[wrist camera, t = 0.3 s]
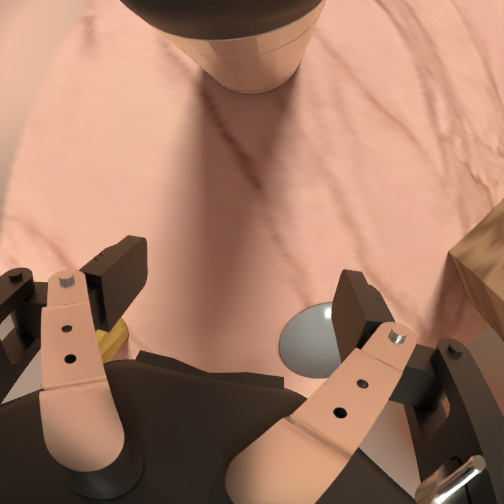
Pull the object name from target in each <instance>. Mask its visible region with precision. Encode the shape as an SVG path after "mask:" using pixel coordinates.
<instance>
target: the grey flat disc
mask: <svg viewBox="0 0 504 504" xmlns="http://www.w3.org/2000/svg"><path fill="white" fill-rule="evenodd" d="M331 307H332V302H328V303H322V304H317V305H314V306H311V307H309V308H307V309H305V310H303V311H301V312H300V313H298V314H297V315H295V316H294V317H293V318H292V319H291V320H290V321H289V322H288V323H287V325H286V326H285V328H284V329H283V331H282V334H281V336H280V342H279V349H280V355H281V358H282V360H283V362H284V363H285V364H286V366H287V367H289V368H290V369H291V370H292V371H294V372H295V373H297V374H300V375H302V376H305V377H310V378H329V377H330V376H331V375H332V374H333V373H334V371H335V370H336V369H337V368H338V367H339V366H340V365H341V360H340V355H339V350H338V346H337V341H336V337H335V332H334V328H333V324H332V319H331Z"/></svg>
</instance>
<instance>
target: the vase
mask: <svg viewBox="0 0 504 504" xmlns="http://www.w3.org/2000/svg"><path fill="white" fill-rule="evenodd" d="M95 333H96V338H97V342H98V347H99V351H100V355H101V359H102V363H107V362H111V360H112V359H113V358H114V356H115V354H116V353H117V351H118V350H119V349H120V347H121V345H122V344H123V343H124V342H125V341H126V339H127V337H128V331H127V327H126V325H125V323H124V321H123V320H122V319H121V318H120V319H119V320H118V322H117V323H116V324H115V326H114V327H113V329H112V330H111V331H110V333H108V332H105V331H102V330H97V331H96V332H95ZM42 386H43V385H42V383H41V389H42Z"/></svg>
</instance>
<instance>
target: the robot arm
mask: <svg viewBox="0 0 504 504" xmlns="http://www.w3.org/2000/svg"><path fill="white" fill-rule="evenodd" d="M120 1H121V2H122V3H123V4H124V5H125V6H126V7H128V8H129V9H130V10H131V11H133V12H134V13H135V14H136V15H138V16H139V17H140V18H142V19H143V20H144V21H146V22H147V23H148V24H149V25H151V26H152V27H153V28H155V29H156V30H157V31H158V32H160V33H161V34H162V35H164V36H165V37H166V38H167V39H168V40H170V41H171V42H173V43H174V44H175V45H176V46H177V47H179V48H180V49H181V50H182V51H183V52H184V53H186V54H187V55H188V56H189V57H190V58H192V59H193V60H194V61H195V62H196V63H197V64H198V65H200V66H201V67H202V68H203V69H204V70H205V71H206V72H207V73H208V74H210V75H211V76H212V77H213V78H214V79H215V80H217V81H218V82H219V83H220V84H221V85H223V86H225V87H226V88H228V89H230V90H233V91H236V92H240V93H248V94H254V93H263V92H267V91H271V90H273V89H275V88H277V87H279V86H281V85H282V84H284V83H285V82H286V81H288V80H289V78H290V77H291V76H292V75H293V74H294V72H295V71H296V69H297V67H298V65H299V63H300V60H301V58H302V56H303V54H304V51H305V49H306V47H307V44H308V42H309V39H310V37H311V35H312V32H313V30H314V27H315V25H316V23H317V20H318V18H319V16H320V13H321V11H322V9H323V6H324V4H325V1H326V0H120ZM147 274H148V269H147V241H146V239H145V238H143V237H137V236H130V235H128V236H126V237H125V238H124V239H123V240H121V241H120V242H119V243H118V244H115V245H113V246H110V247H108V248H105V249H104V250H103V251H102V252H100V253H99V255H97V256H95V257H94V258H93V259H92V260H91V261H89V262H88V263H87V264H86V265H85V266H83V267H82V268H81V269H80V270H79V271H78V270H63V271H59V272H57V273H55V274H53V275H52V276H51V277H50V278H49V281H48V282H34V280H33V275H32V271H31V270H30V269H27V268H15V269H12V270H9V271H7V272H6V273H4V274H3V275H2V276H0V324H1V323H2V321H3V320H4V319H5V318H6V317H7V316H8V315H9V314H10V315H11V318H12V321H13V324H14V328H13V330H12V331H11V332H10V333H9V334H8V335H7V336H6V337H5V338H4V340H3V341H2V342H1V340H0V404H1V403H2V401H3V400H4V398H5V397H6V395H7V394H8V393H9V391H10V390H11V388H12V387H13V385H14V384H15V382H16V381H17V379H18V378H19V377H20V375H21V374H22V373H23V371H24V370H25V368H26V367H27V366H28V364H29V363H30V362H31V360H32V359H33V358H34V356H35V355H36V354H37V352H38V351H39V350H40V348H41V366H42V385H43V386H42V389H40V390H38V391H35V392H32V393H30V394H27V395H25V396H22V397H19V398H17V399H14V400H12V401H9V402H6V403H3V404H1V405H0V504H504V417H503V415H502V413H501V411H500V409H499V407H498V404H497V403H496V400H495V398H494V396H493V394H492V393H491V390H490V388H489V386H488V385H487V383H486V381H485V379H484V377H483V375H482V373H481V372H480V370H479V368H478V366H477V364H476V363H475V361H474V359H473V357H472V355H471V354H470V352H469V350H468V349H467V348H466V347H465V346H464V345H463V344H461V343H460V342H458V341H456V340H453V339H449V338H444V339H441V340H440V341H439V342H438V344H437V346H436V348H435V349H433V348H429V347H426V346H422V345H419V344H416V343H417V338H416V335H415V334H414V333H413V332H412V331H411V330H410V329H409V328H407V327H406V326H404V325H402V324H399V323H396V322H395V320H394V318H393V316H392V314H391V312H390V311H389V309H388V307H387V305H386V303H385V301H384V299H383V297H382V295H381V294H380V292H379V291H378V290H377V289H375V288H374V287H373V286H372V285H368V283H367V281H366V279H365V277H364V275H363V273H362V272H359V271H352V270H346V269H344V270H343V271H342V273H341V275H340V279H339V282H338V286H337V289H336V292H335V296H334V299H333V302H332V307H331V319H332V324H333V328H334V332H335V337H336V341H337V346H338V350H339V355H340V360H341V365H340V366H339V367H338V368H337V369H336V370H335V371H334V373H333V374H332V375H331V376H330V377H329V378H328V379H327V380H326V381H325V382H324V383H323V384H322V385H321V386H320V387H319V388H318V389H317V390H316V391H315V392H314V393H313V394H312V395H311V396H310V397H309V398H308V399H307V398H306V397H304V396H302V395H300V394H298V393H296V392H294V391H292V390H289V389H286V388H284V377H279V376H271V375H263V374H256V373H249V372H239V373H208V372H205V371H202V370H200V369H197V368H195V367H192V366H190V365H188V364H185V363H183V362H181V361H178V360H176V359H174V358H170V357H166V356H161V355H157V354H153V353H149V352H145V351H141V350H140V352H139V354H138V356H137V357H136V359H135V360H133V359H128V360H116V361H111V362H107V363H102V359H101V355H100V351H99V347H98V342H97V338H96V333H95V332H96V331H97V330H102V331H105V332H108V333H110V331H111V330H112V329H113V327H114V326H115V324H116V323H117V322H118V320H119V319H120V318H121V316H122V315H123V314H124V312H125V311H126V310H127V308H128V307H129V306H130V304H131V303H132V302H133V300H134V299H135V298H136V296H137V295H138V294H139V293H140V291H141V290H142V289H143V287H144V286H145V284H146V280H147ZM446 396H447V398H448V401H449V403H450V413H449V416H448V418H447V416H446V413H445V411H444V408H443V405H442V402H443V400H444V399H445V398H446ZM388 400H391V401H394V402H398V403H402V404H404V408H405V412H406V416H407V420H408V424H409V428H410V432H411V437H412V441H413V446H414V450H415V455H416V459H417V465H418V470H419V475H420V480H421V484H420V485H419V486H418V488H417V489H416V492H415V500H414V499H413V498H412V496H411V495H409V494H408V493H407V492H406V491H405V490H404V489H403V488H402V487H400V486H399V485H398V484H397V483H396V482H395V481H393V479H392V478H390V477H389V476H388V475H387V474H386V473H385V472H384V471H383V470H382V469H381V468H380V467H379V466H378V465H376V464H375V463H374V462H373V461H372V460H371V459H370V458H369V457H368V456H367V455H366V454H365V453H364V452H363V451H362V450H361V449H360V448H359V447H358V446H359V445H360V443H361V442H362V441H363V439H364V438H365V436H366V434H367V433H368V431H369V430H370V429H371V427H372V425H373V424H374V422H375V421H376V419H377V417H378V416H379V414H380V412H381V410H382V409H383V408H384V406H385V404H386V403H387V401H388Z"/></svg>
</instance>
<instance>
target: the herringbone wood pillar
mask: <svg viewBox="0 0 504 504" xmlns="http://www.w3.org/2000/svg"><path fill="white" fill-rule="evenodd" d="M448 252H449V254H450V256H451V258H452V260H453V262H454V265H455V267H456V269H457V271H458V274H459V276H460V278H461V281H462V283H463V285H464V288H465V290H466V293H467V295H468V298H469V300H470V303H471V304H472V305H473V306H474V307H475V308H476V309H477V311H478V312H479V313H480V314H481V315H482V316H483V317H484V318H485V320H486V321H487V322H488V323H489V324H490V325H491V327H492V328H493V329H494V330H495V331H496V333H497V334H498V335H499V336H500V337H501V339H502V340H503V341H504V199H503V200H502V201H501V202H500V203H499V204H498V205H497V206H496V207H495V208H494V209H493V210H492V211H491V212H490V213H489V214H488V215H487V216H486V217H485V218H484V219H483V220H482V221H481V222H480V223H479V224H478V225H477V226H476V227H475V228H474V229H473V230H472V231H470V232H469V233H468V234H467V235H466V236H465V237H464V238H463V239H462V240H461V241H460V242H458V243H457V244H456V245H455V246H454V247H453V248H452V249H451V250H449V251H448Z"/></svg>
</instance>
